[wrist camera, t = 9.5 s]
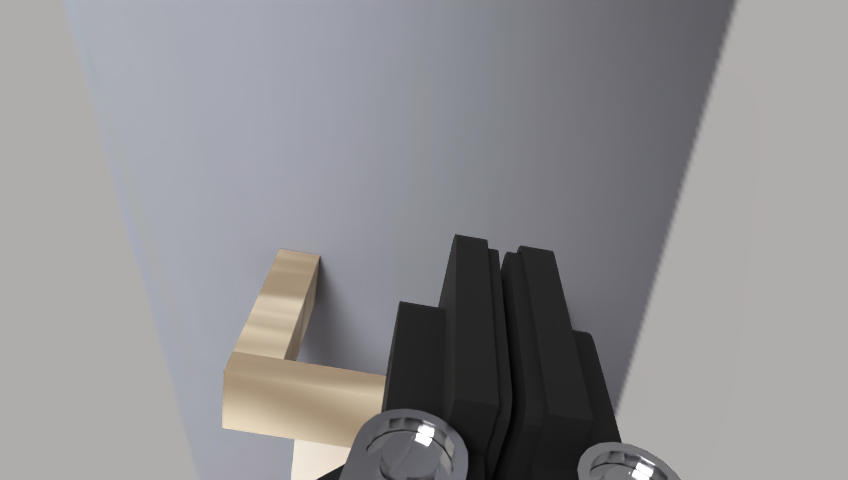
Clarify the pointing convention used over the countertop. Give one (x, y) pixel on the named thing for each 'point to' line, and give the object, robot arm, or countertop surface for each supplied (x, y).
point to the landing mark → (316, 459)
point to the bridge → (293, 368)
